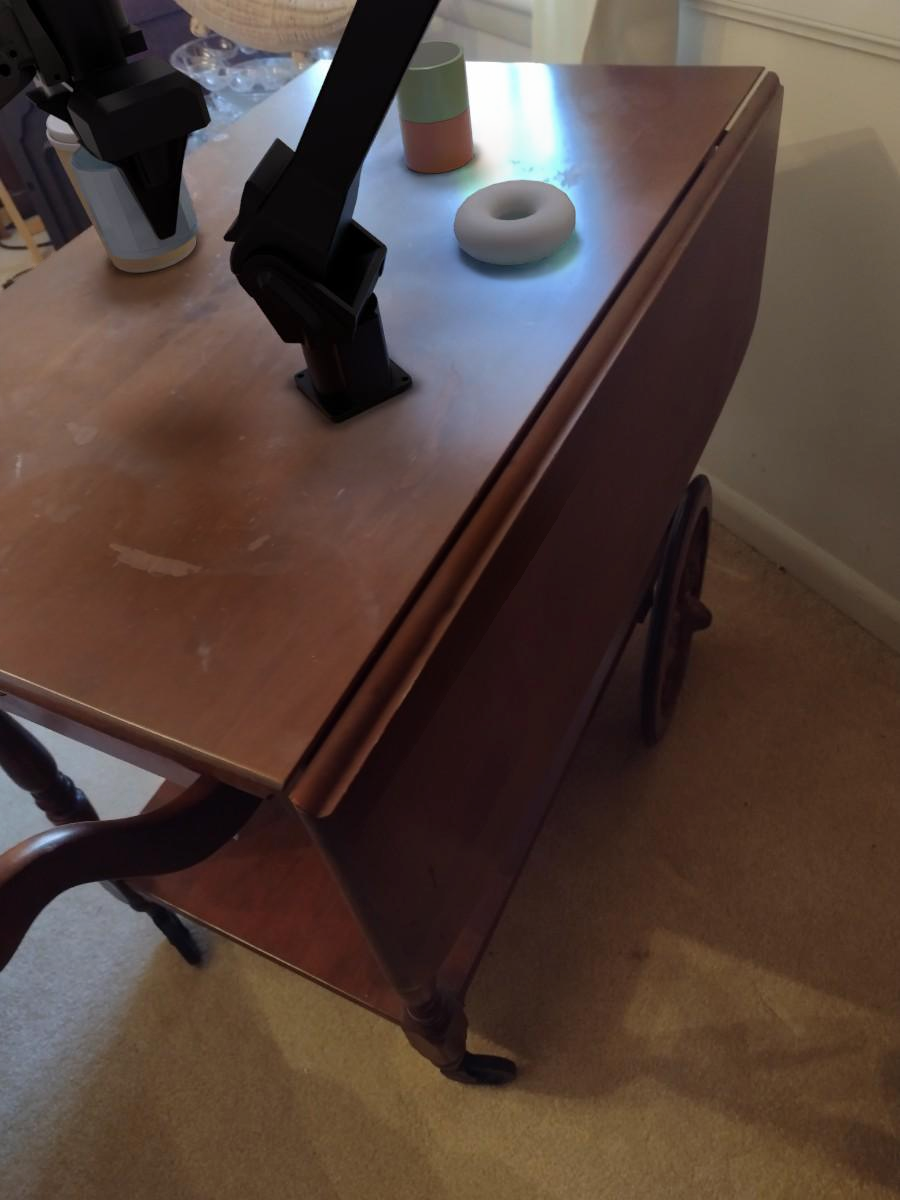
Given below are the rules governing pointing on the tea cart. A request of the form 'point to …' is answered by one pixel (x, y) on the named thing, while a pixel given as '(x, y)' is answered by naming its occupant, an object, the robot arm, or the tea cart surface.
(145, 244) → the blue cup
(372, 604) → the tea cart surface
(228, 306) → the tea cart surface
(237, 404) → the tea cart surface
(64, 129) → the coffee cup
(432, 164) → the cup stack
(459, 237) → the donut
